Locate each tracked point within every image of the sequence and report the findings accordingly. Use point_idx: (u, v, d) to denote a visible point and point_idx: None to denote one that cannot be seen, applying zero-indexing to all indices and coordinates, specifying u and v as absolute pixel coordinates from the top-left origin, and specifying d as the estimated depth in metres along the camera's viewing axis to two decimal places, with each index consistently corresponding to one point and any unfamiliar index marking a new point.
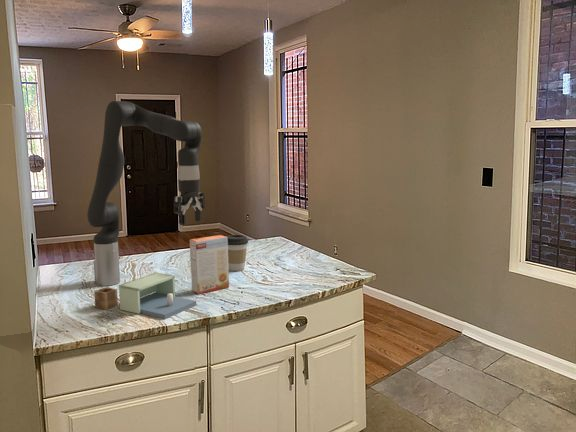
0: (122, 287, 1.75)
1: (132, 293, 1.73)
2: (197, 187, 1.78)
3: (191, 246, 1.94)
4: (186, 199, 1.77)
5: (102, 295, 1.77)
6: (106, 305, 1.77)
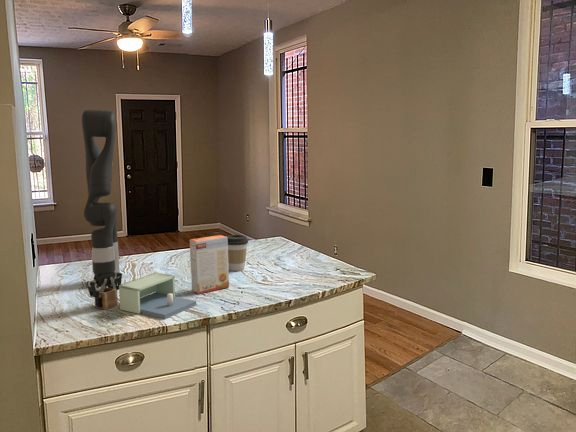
0: (122, 287, 1.75)
1: (132, 293, 1.73)
2: (111, 268, 1.77)
3: (191, 246, 1.94)
4: (100, 282, 1.76)
5: (102, 295, 1.77)
6: (106, 305, 1.77)
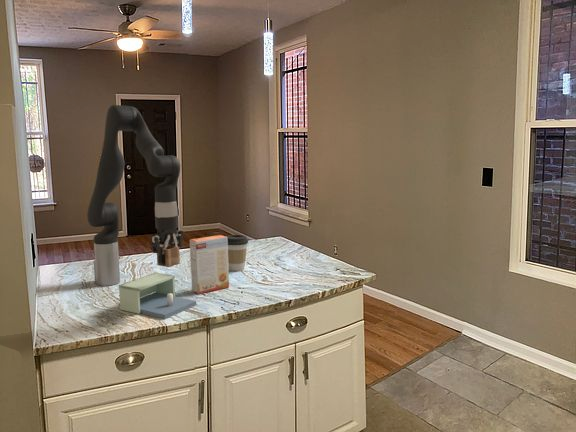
0: (122, 287, 1.75)
1: (132, 293, 1.73)
2: (175, 224, 1.71)
3: (191, 246, 1.94)
4: (163, 238, 1.70)
5: (165, 251, 1.71)
6: (169, 262, 1.72)
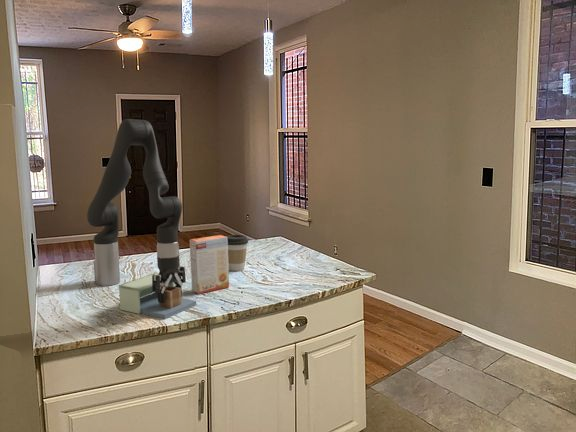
0: (122, 287, 1.75)
1: (132, 293, 1.73)
2: (176, 264, 1.73)
3: (191, 246, 1.94)
4: (165, 277, 1.73)
5: (167, 293, 1.74)
6: (171, 304, 1.74)
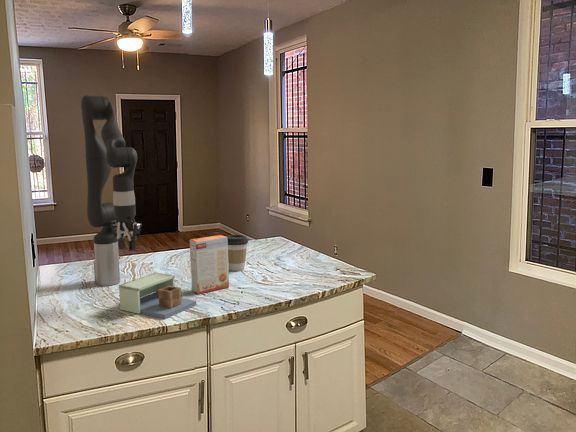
0: (122, 287, 1.75)
1: (132, 293, 1.73)
2: (116, 213, 1.79)
3: (191, 246, 1.94)
4: None
5: (167, 293, 1.74)
6: (171, 304, 1.74)
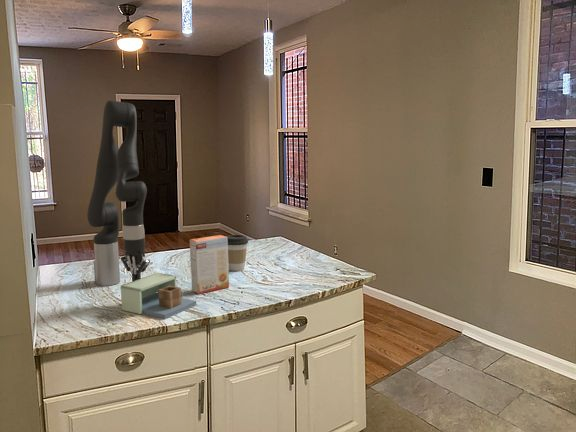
0: (124, 287, 1.75)
1: (134, 294, 1.73)
2: (126, 247, 1.79)
3: (191, 246, 1.94)
4: (127, 259, 1.83)
5: (167, 293, 1.74)
6: (171, 304, 1.74)
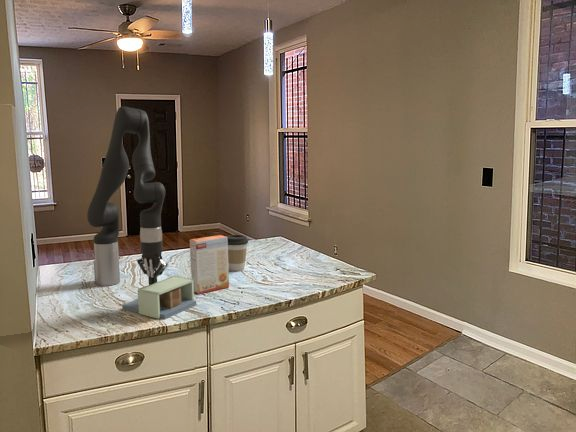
0: (141, 291, 1.71)
1: (151, 297, 1.69)
2: (143, 250, 1.74)
3: (191, 246, 1.94)
4: None
5: (167, 293, 1.74)
6: (171, 304, 1.74)
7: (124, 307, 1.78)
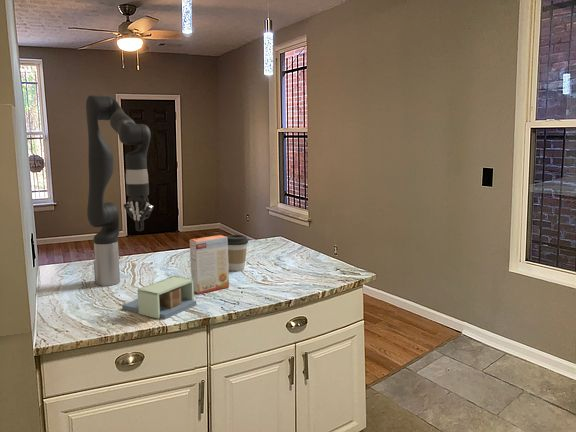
0: (141, 291, 1.71)
1: (151, 297, 1.69)
2: (129, 192, 1.74)
3: (191, 246, 1.94)
4: (131, 205, 1.78)
5: (167, 293, 1.74)
6: (171, 304, 1.74)
7: (124, 307, 1.78)
